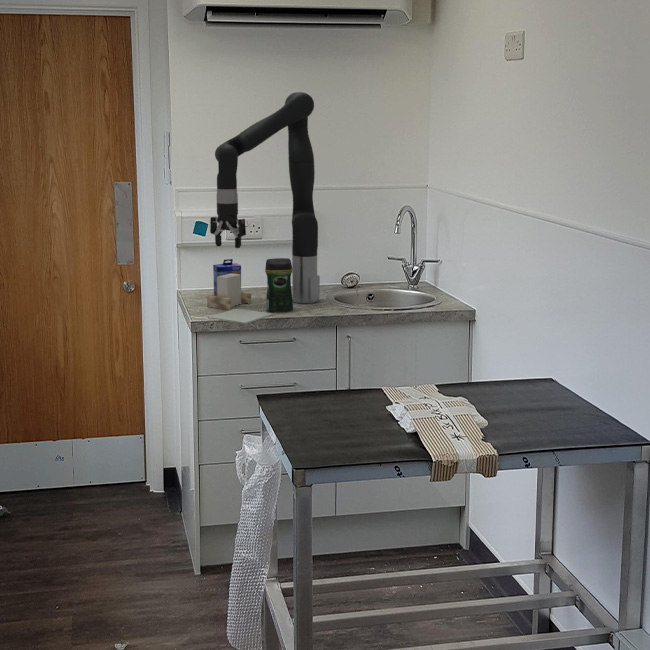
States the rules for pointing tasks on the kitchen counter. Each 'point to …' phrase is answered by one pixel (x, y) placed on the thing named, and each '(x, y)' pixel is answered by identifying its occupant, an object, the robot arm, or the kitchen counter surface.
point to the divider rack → (226, 301)
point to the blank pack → (230, 287)
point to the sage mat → (240, 316)
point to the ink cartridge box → (225, 271)
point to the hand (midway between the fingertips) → (228, 247)
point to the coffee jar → (279, 285)
